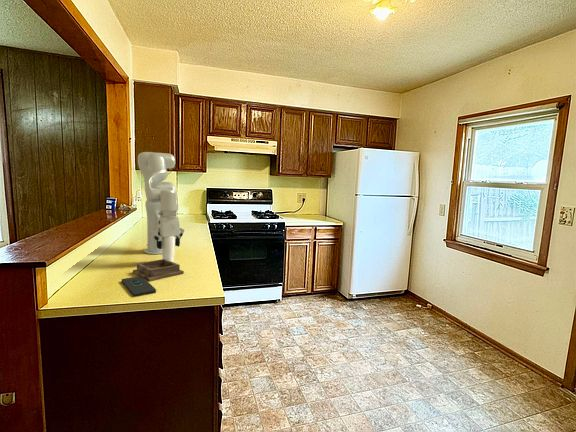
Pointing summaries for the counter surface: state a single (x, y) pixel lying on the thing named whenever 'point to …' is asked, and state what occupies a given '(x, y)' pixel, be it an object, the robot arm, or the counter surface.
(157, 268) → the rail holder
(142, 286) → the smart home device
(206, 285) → the counter surface
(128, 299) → the counter surface
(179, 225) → the robot arm
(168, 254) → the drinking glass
